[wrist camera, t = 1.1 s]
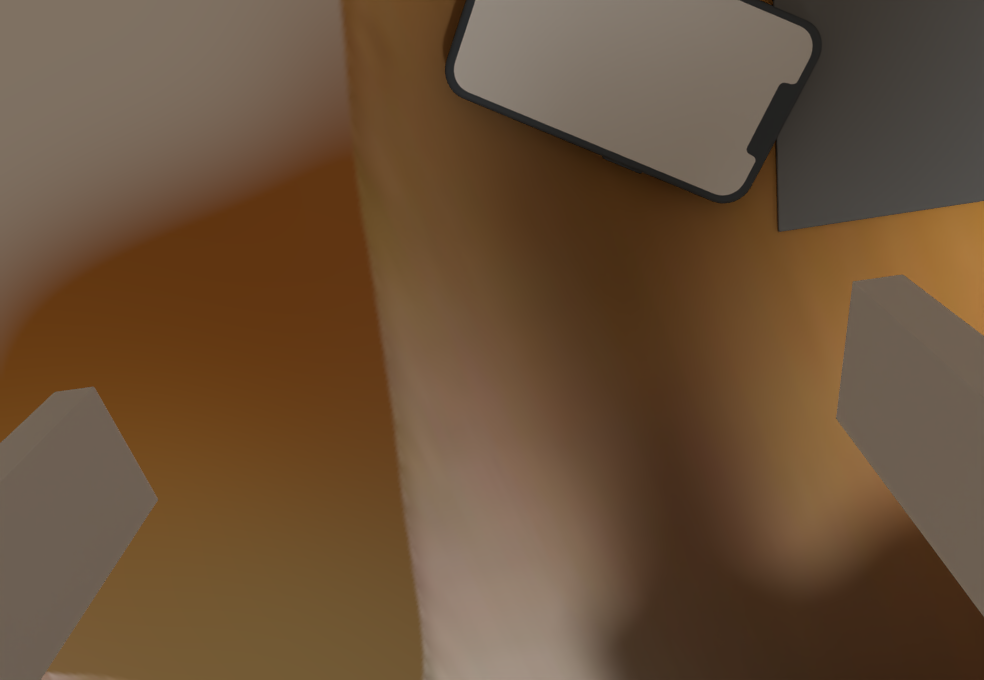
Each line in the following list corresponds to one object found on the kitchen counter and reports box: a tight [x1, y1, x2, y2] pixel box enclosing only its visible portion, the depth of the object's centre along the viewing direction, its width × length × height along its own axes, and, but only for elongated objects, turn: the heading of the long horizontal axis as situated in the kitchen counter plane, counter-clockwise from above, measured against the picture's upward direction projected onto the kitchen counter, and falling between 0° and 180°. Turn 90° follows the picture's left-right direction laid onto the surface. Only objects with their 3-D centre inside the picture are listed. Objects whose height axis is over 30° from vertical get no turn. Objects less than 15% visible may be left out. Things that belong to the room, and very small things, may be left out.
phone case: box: [445, 0, 822, 203], centre depth 31 cm, size 9×2×16 cm
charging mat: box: [773, 0, 984, 232], centre depth 30 cm, size 19×12×1 cm, turn 10°
